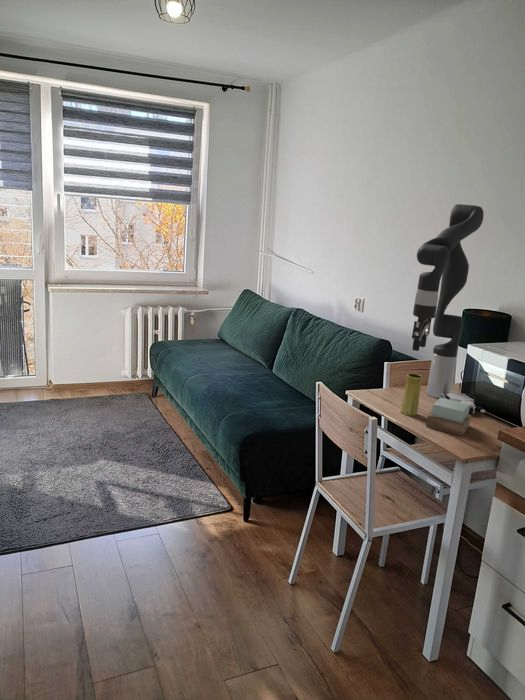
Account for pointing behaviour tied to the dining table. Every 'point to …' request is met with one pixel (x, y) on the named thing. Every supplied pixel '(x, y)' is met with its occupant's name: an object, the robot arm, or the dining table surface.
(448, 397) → the robot toy
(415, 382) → the vase
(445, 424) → the bottom brick
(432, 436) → the dining table surface
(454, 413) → the top brick
